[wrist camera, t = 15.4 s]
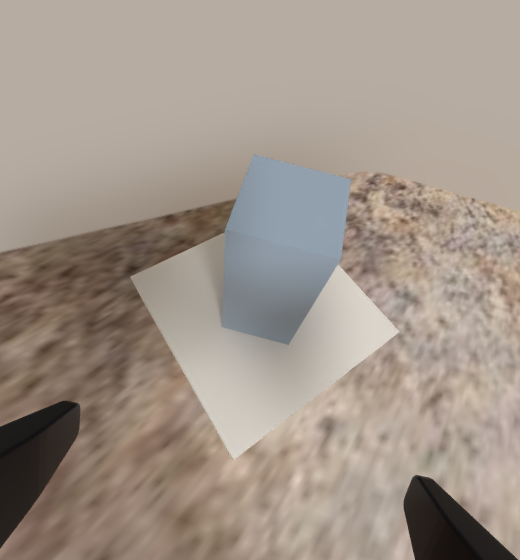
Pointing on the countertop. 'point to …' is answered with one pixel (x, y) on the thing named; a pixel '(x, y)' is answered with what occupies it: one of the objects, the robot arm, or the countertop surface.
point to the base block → (255, 344)
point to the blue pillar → (281, 246)
